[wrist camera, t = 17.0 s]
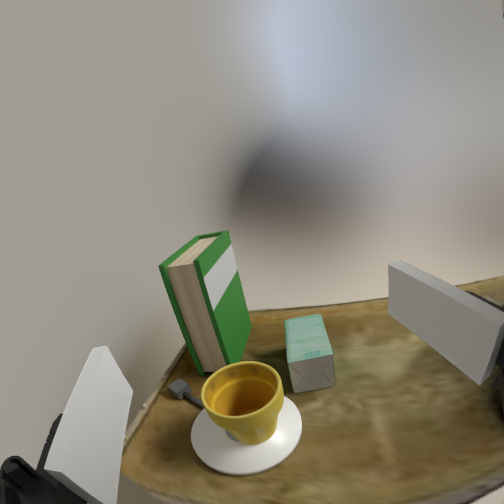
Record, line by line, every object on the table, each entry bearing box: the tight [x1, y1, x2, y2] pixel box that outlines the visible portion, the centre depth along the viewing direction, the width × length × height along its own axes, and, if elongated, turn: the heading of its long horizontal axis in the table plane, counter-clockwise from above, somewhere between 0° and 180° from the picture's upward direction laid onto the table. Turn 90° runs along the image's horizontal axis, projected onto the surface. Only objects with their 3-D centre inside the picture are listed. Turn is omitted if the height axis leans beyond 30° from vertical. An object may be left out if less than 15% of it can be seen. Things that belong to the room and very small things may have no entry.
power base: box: [167, 378, 302, 476], centre depth 38 cm, size 26×17×2 cm, turn 50°
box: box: [284, 314, 335, 393], centre depth 46 cm, size 7×14×8 cm, turn 177°
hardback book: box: [159, 230, 252, 376], centre depth 54 cm, size 18×7×24 cm, turn 169°
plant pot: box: [201, 361, 284, 445], centre depth 33 cm, size 10×10×10 cm
